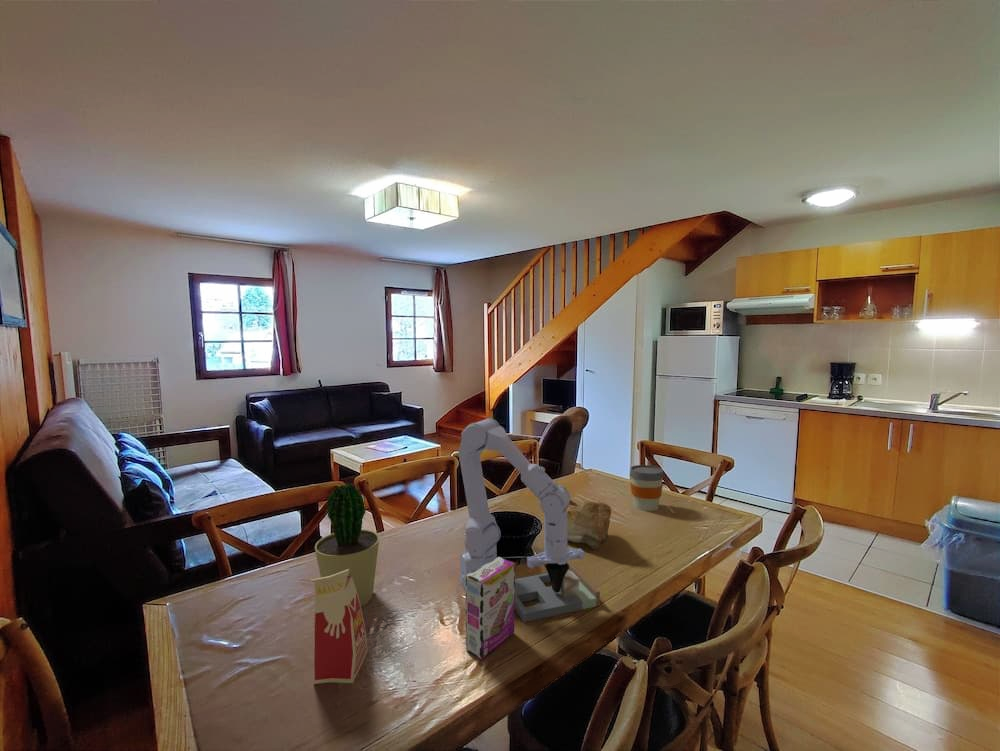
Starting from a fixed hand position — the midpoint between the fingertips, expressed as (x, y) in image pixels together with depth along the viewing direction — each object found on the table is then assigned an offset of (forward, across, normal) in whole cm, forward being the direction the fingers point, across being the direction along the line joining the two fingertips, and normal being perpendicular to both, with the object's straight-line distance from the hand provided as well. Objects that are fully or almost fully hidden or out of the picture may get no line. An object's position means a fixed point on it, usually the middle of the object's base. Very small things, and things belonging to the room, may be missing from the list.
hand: (555, 590), depth 110 cm
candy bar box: (+3, -20, -9) cm, 22 cm away
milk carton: (+3, -51, -6) cm, 51 cm away
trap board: (+3, -1, +2) cm, 4 cm away
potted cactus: (+3, -49, +19) cm, 52 cm away
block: (+1, +3, 0) cm, 3 cm away
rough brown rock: (+3, +25, +29) cm, 39 cm away
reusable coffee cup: (+3, +61, +47) cm, 77 cm away
